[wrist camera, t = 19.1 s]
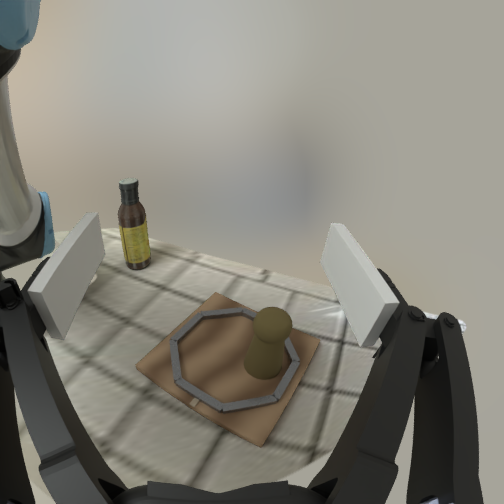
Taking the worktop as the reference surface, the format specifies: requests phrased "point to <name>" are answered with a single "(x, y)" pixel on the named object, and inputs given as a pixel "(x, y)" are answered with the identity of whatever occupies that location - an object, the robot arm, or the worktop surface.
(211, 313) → the steel ring
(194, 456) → the worktop surface
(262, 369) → the cork
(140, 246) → the sauce bottle
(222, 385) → the walnut board
